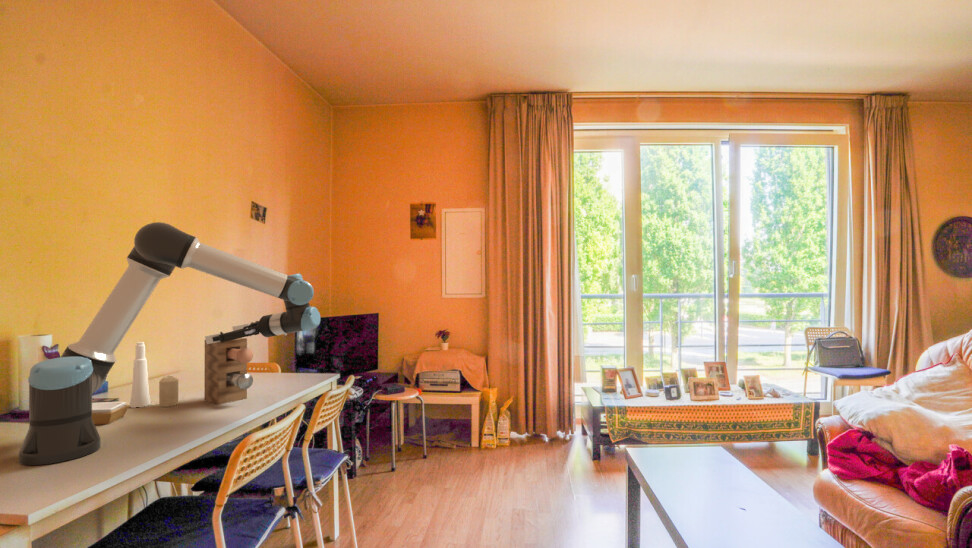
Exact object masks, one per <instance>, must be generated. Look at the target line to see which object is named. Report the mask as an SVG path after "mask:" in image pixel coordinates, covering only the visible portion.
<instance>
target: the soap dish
mask: <svg viewBox="0 0 972 548" xmlns="http://www.w3.org/2000/svg"><path fill="white" fill-rule="evenodd" d="M129 405H130V404H127V402H126V401H106V402H103V401H102V402H92V420H93V422H94V424H95V425H109V424H111V423H114V422H115V421H117V420H119V419H121V418H124V417H125V415H126V413H127V412H128V409H129V408H130V407H129Z"/></svg>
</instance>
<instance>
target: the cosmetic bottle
mask: <svg viewBox="0 0 972 548" xmlns="http://www.w3.org/2000/svg"><path fill="white" fill-rule="evenodd" d="M132 367H133V368H132V383H131V384H132V386H131V395H130V401H129V404H128V405H129V407H128V408H130V407H131V408H132V409H134V408H135V409H137V408H136V407H139V408H144V406H145V407H148V405H149V406H151V404H152V402H151V397H150V389H149V388H150V387H149V374H148V373H149V372H148V369H149V368H148V360H147V358H146V345H145V341H138V342H136V345H135V358H134V360H133V366H132Z"/></svg>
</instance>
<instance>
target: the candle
mask: <svg viewBox="0 0 972 548" xmlns="http://www.w3.org/2000/svg"><path fill="white" fill-rule="evenodd" d="M158 390H159V391H158V398H159V399H158V401H159V402H158V403H159V404H158V405H159V407H160V408H165V407H167V408H168V407H174V406H177V405H178V404H179V379H178V377H175V376H174V375H173V376H172V375H166V376H163V378H161V379H160V380H159V387H158ZM176 404H177V405H176ZM173 405H174V406H173Z"/></svg>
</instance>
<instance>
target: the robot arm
mask: <svg viewBox="0 0 972 548" xmlns="http://www.w3.org/2000/svg"><path fill="white" fill-rule="evenodd" d="M133 242H134V243H133V244H134V246H133V248H132V249H131V250H130V252H129V253H128V255H127V256H126V261H127V263H128V267H127V268H126V270H125V271H124V273H123V274H122V276H121V277H120V279H119V280H118V281H117V283H116V284H115V286H114V288H113V289H112V290H111V292H110V294H109V295H108V297H107V298H106V299H105V301H104V303H103V304H102V306H101V307H100V308H99V310H98V312H97V313H96V315H95V316H94V318H93V319H92V321H91V322H90V324H89V325H88V327H87V328H86V329H85V331H84V333H83V334H82V336H81V337H80V339H79V340H78V341H77V342H73V343H70V344H68V345H67V347H66V348H65V349H64V351H63V352H62V354H61V356H60V357H55V358H50V359H47V360H42V361H39V362H37V363H35V364H34V365H32V367H31V368H30V370H29V376H28V384H29V385H28V387H29V388H28V390H29V391H28V394H29V395H28V398H29V399H28V400H29V405H28V407H29V408H28V411H29V412H28V413H29V414H28V415H29V416H28V417H29V418H28V419H29V420H28V423H29V425H28V430H27V432H26V435H25V438H24V439H23V441H22V445H21V446H20V450H19V451H18V463H19V464H20V465H25V466H42V465H51V464H57V463H62V462H67V461H70V460H74V459H75V460H76V459H78V458H81V457H85V456H87V455H90V454H92V453H94V452H97V451H98V450H99V449H100V448H101V446H102V445H101V442H102V441H101V436H100V433H99V431H98V429H97V427H96V424H94V422H93V420H92V403H93V394H94V393H97V391H99V390H100V389H101V388H102V387H103V385H104V383H105V382H106V380H107V378H108V374H109V373H110V371H111V369H112V368H113V366H114V365H115V363H116V361H117V358H116V356H115V351H116V350H117V348H118V347H119V346H120V344H121V342H122V341H123V339H124V338H125V336H126V334H127V333H128V332H129V330H130V328H131V327H132V325H133V323H134V322H135V320H136V319H137V317H138V315H139V314H140V313H141V311H142V309H143V308H144V306H145V305H146V304H147V302H148V300H149V298H150V297H151V295H152V294H153V292H154V290H155V289H156V288H157V286H158V284H159V283H160V281H161V280H162V279H166V278H169V277H171V274H172V273H173V271H174V270H175V268H179V269H183V270H184V269H185V268H191V269H193V270H196V271H199V272H201V273H204V274H207V275H211V276H213V277H217V278H219V279H222V280H226V281H228V282H230V283H233V284H236V285H240V286H242V287H246V288H248V289H252V290H254V291H258V292H260V293H264V294H265V295H268V296H272V297H275V298H277V299H280V300H283V303H284V307H285V311H280V312H277V313H276V312H275V313H273V314H265V315H263V316H262V317H261V318H260V319H259V320H255V321H254V322H253V321H252V322H250V323H244V324H238V325H233V326H232V327H231V328H232V330H231V331H228V332H223V331H220V332H219V333H215V334H208V335H206V336H204V340H206V343H207V344H211V343H217V342H220V343H223V342H226V341H230V340H234V339H238V338H246V337H247V338H248V337H251V336H258V335H262V336H263V337H264V338H271V337H276V336H281V335H283V336H288V334H292V333H298V332H306V331H309V330H314V329H316V328H318V327H319V326H320V324H321V313H320V312H319V310H318V308H317V307H316V306H311V305H310V302H311V301H312V300H313V298H314V293H315V292H314V291H315V290H314V287H313V286H312V284H311V283H309V281H307V280H304V278H303V275H302V274H301V273H294V274H290V275H289V274H286V273H282V272H280V271H277V270H275V269H272V268H269V267H267V266H264V265H261V264H259V263H256V262H254V261H251V260H248V259H245V258H243V257H240V256H237V255H234V254H231V253H229V252H226V251H224V250H221V249H218V248H216V247H214V246H211V245H208V244H205V243H202V242H200V240H199V238H198V237H197V236H194V235H191V234H189V233H187V232H184V231H182V230H181V229H178V228H177V227H175V226H174V225H171V224H170V223H165V222H161V221H159V222H158V221H157V222H150V223H148V224H146V225H144V226H142V227H141V228H140V229H138V231H137V232H136V234H135V237H134V239H133Z"/></svg>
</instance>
